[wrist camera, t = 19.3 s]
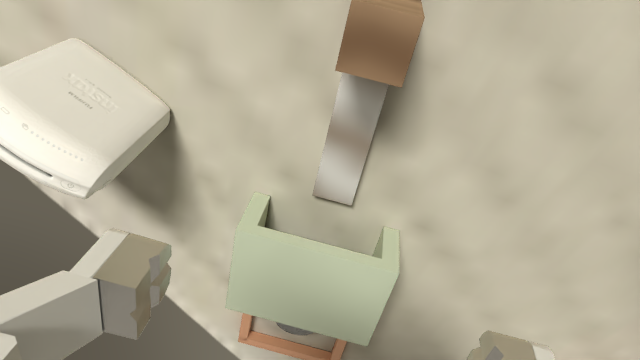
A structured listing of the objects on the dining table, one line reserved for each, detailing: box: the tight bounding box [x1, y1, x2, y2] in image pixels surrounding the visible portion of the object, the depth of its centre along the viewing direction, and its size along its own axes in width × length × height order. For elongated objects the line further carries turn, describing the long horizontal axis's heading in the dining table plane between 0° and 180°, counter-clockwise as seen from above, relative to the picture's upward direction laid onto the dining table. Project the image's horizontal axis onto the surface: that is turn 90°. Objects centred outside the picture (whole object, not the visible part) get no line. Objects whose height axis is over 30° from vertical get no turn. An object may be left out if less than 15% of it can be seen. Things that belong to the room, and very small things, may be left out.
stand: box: [225, 192, 399, 347], centre depth 41 cm, size 14×10×6 cm
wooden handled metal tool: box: [313, 0, 425, 205], centre depth 31 cm, size 18×4×8 cm, turn 168°
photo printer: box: [0, 38, 170, 199], centre depth 32 cm, size 10×4×12 cm, turn 50°
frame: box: [238, 313, 347, 360], centre depth 49 cm, size 12×10×1 cm
